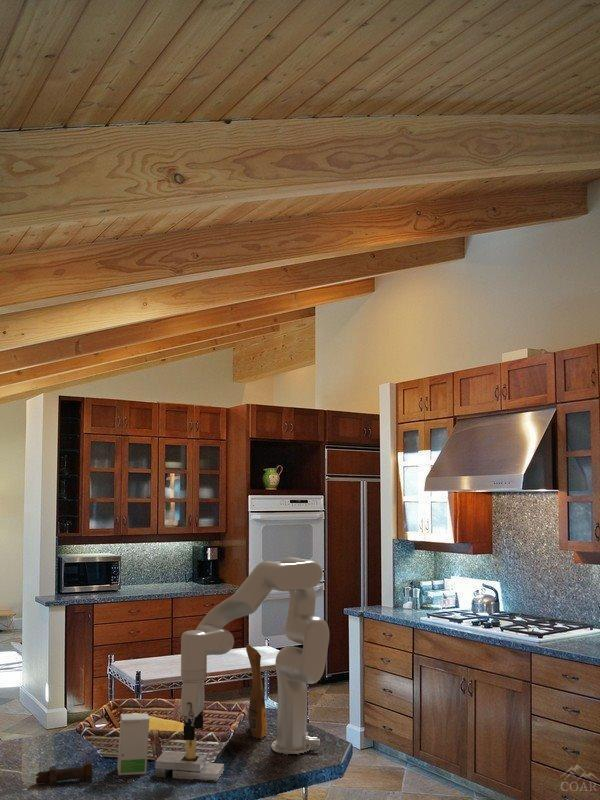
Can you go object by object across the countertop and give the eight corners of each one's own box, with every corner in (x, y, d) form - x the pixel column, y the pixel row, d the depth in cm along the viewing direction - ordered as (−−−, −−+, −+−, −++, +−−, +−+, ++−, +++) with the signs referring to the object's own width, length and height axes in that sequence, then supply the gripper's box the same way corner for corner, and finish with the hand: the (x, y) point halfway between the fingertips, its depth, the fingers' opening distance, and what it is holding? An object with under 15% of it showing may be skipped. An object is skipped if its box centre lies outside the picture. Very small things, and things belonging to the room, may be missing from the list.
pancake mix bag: (248, 741, 263) (251, 653, 266) (243, 723, 282) (245, 641, 285) (268, 740, 264) (271, 653, 267) (262, 722, 283) (264, 641, 286)
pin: (196, 772, 236) (197, 736, 237) (193, 776, 233) (194, 740, 234) (186, 771, 236) (187, 736, 237) (183, 775, 233) (184, 739, 234)
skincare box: (118, 776, 231) (120, 720, 233) (116, 767, 238) (119, 713, 239) (147, 774, 233) (149, 718, 235) (145, 765, 240) (147, 711, 241)
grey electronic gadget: (223, 771, 237) (224, 755, 237) (217, 781, 229) (218, 765, 230) (163, 766, 239) (163, 751, 240) (154, 776, 232) (155, 761, 232)
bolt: (35, 791, 224) (91, 783, 229) (36, 787, 220) (92, 780, 225) (35, 768, 227) (90, 761, 232) (36, 765, 223) (92, 758, 228)
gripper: (189, 666, 246) (188, 723, 245) (173, 682, 229) (172, 744, 228) (213, 666, 245) (212, 724, 244) (198, 683, 228) (198, 745, 227)
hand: (193, 733), depth 236 cm, fingers open, 9 cm apart
